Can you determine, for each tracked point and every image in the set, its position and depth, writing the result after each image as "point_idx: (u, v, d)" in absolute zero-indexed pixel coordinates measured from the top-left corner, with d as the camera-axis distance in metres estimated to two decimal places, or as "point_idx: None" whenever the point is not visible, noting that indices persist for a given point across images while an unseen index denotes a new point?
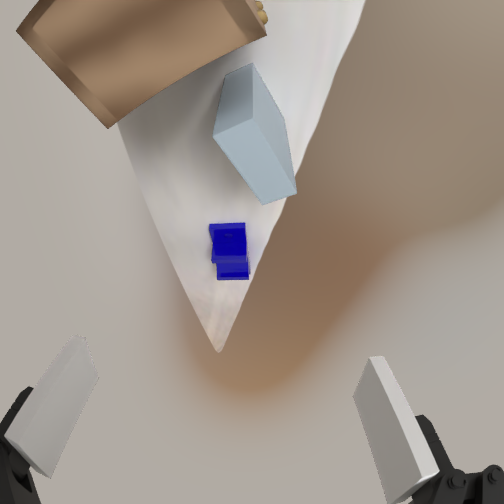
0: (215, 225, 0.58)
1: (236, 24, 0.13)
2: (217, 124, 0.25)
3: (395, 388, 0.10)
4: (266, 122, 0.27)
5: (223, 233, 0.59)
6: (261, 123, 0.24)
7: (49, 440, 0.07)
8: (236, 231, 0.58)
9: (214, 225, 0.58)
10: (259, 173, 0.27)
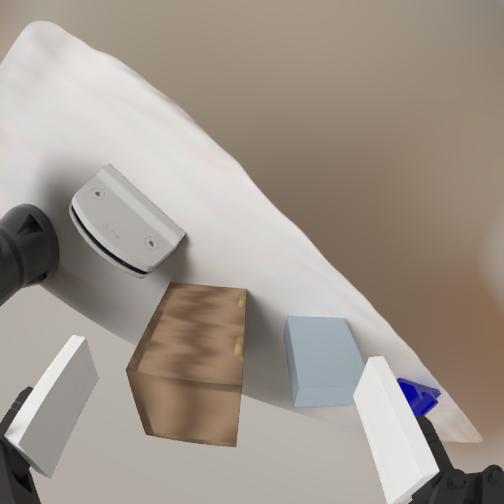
0: None
1: (226, 391, 0.27)
2: (292, 395, 0.35)
3: (395, 388, 0.10)
4: (317, 367, 0.35)
5: None
6: (311, 378, 0.33)
7: (49, 440, 0.07)
8: None
9: None
10: (339, 397, 0.33)
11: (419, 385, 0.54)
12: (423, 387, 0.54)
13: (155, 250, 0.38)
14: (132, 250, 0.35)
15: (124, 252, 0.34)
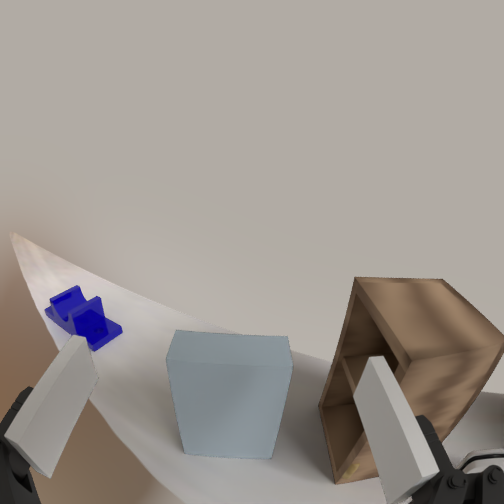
0: (117, 334, 0.46)
1: (420, 347, 0.17)
2: None
3: (395, 388, 0.10)
4: (252, 396, 0.23)
5: (105, 330, 0.45)
6: (269, 380, 0.22)
7: (49, 440, 0.07)
8: (96, 337, 0.42)
9: (118, 333, 0.46)
10: (220, 345, 0.23)
11: (69, 331, 0.44)
12: (64, 326, 0.44)
13: None
14: None
15: (503, 465, 0.13)
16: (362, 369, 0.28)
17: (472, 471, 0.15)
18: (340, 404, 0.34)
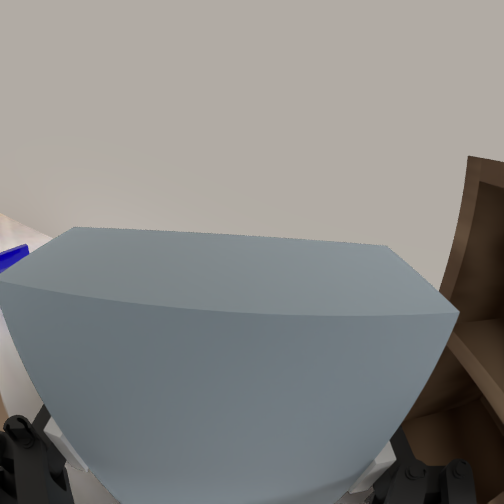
0: None
1: None
2: None
3: None
4: (294, 440, 0.06)
5: None
6: (368, 382, 0.05)
7: None
8: None
9: None
10: (181, 254, 0.07)
11: None
12: None
13: None
14: None
15: None
16: (485, 345, 0.11)
17: None
18: (416, 416, 0.17)
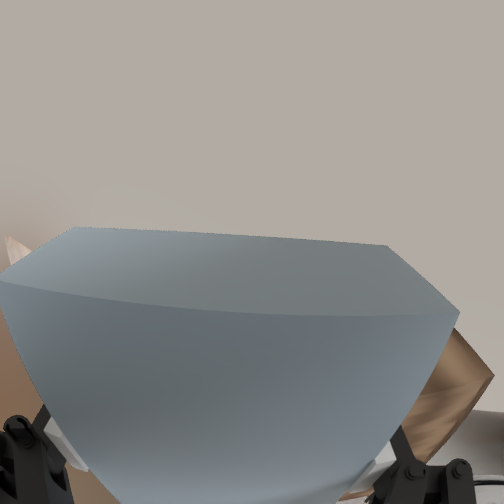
0: None
1: None
2: None
3: None
4: (294, 440, 0.06)
5: None
6: (368, 382, 0.05)
7: None
8: None
9: None
10: (181, 254, 0.07)
11: None
12: None
13: None
14: None
15: (483, 493, 0.12)
16: None
17: None
18: None
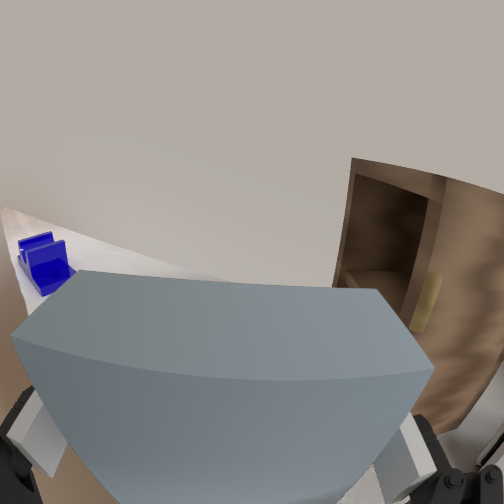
0: None
1: None
2: None
3: None
4: (285, 465, 0.06)
5: (61, 276, 0.37)
6: (349, 423, 0.06)
7: (51, 439, 0.07)
8: (48, 282, 0.35)
9: None
10: (183, 309, 0.07)
11: (29, 276, 0.37)
12: (26, 271, 0.38)
13: None
14: None
15: None
16: (372, 282, 0.22)
17: None
18: None
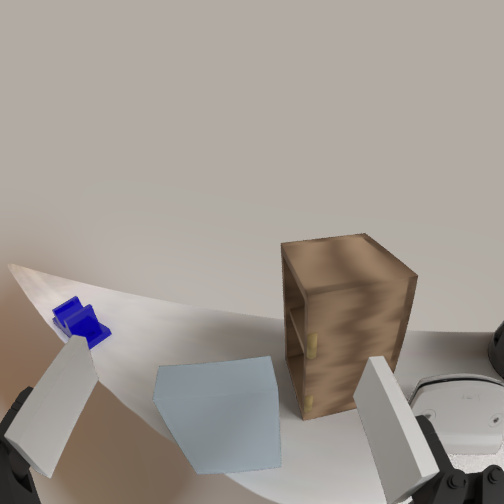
0: (106, 335, 0.52)
1: (319, 286, 0.26)
2: None
3: (395, 388, 0.10)
4: (245, 419, 0.22)
5: (96, 333, 0.51)
6: (257, 404, 0.21)
7: (49, 440, 0.07)
8: (88, 340, 0.49)
9: (107, 334, 0.52)
10: (203, 377, 0.22)
11: (69, 336, 0.51)
12: (65, 332, 0.52)
13: (421, 412, 0.26)
14: (445, 396, 0.24)
15: (453, 388, 0.24)
16: (305, 317, 0.38)
17: (422, 396, 0.26)
18: (303, 353, 0.43)
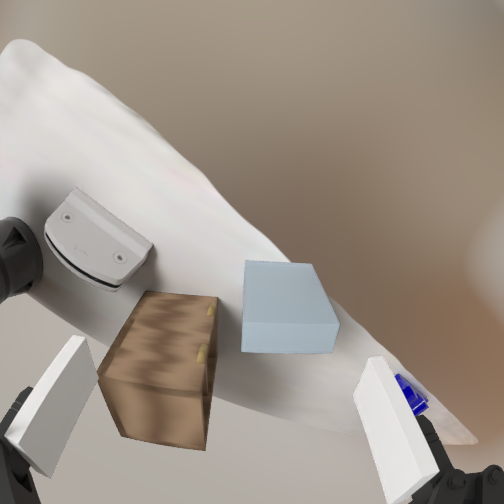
0: None
1: (186, 397, 0.27)
2: None
3: (395, 388, 0.10)
4: (270, 303, 0.32)
5: None
6: (259, 313, 0.30)
7: (49, 440, 0.07)
8: None
9: None
10: (298, 341, 0.29)
11: (413, 386, 0.54)
12: (416, 389, 0.54)
13: (123, 263, 0.38)
14: (101, 266, 0.35)
15: (93, 269, 0.34)
16: None
17: (119, 276, 0.36)
18: None
